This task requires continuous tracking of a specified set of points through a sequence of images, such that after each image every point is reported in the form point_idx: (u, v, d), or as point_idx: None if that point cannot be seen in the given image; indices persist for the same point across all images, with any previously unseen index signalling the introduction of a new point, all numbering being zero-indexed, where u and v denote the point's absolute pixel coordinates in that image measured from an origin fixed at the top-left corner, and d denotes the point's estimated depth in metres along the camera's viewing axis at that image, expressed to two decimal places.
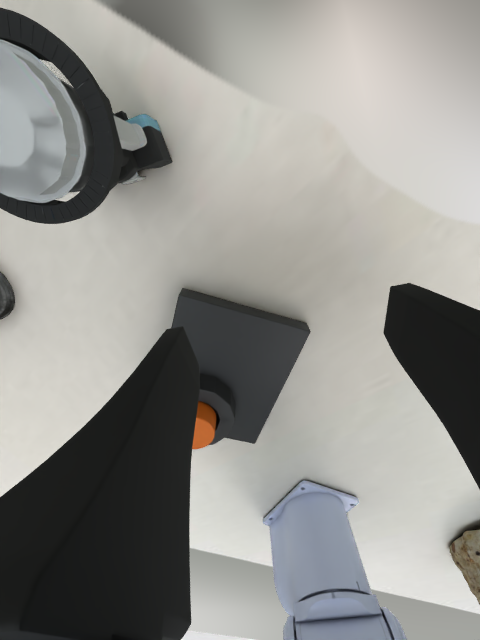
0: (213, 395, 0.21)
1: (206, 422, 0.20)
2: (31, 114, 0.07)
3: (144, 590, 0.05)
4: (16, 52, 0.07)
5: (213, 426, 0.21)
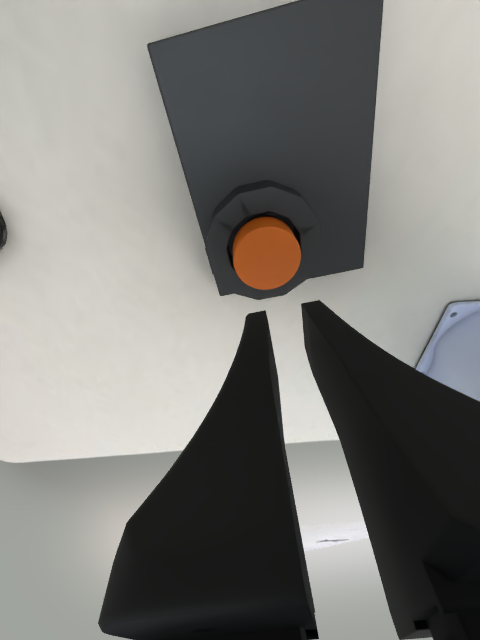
0: (272, 191, 0.14)
1: (279, 228, 0.13)
2: None
3: (306, 573, 0.05)
4: None
5: (292, 234, 0.14)
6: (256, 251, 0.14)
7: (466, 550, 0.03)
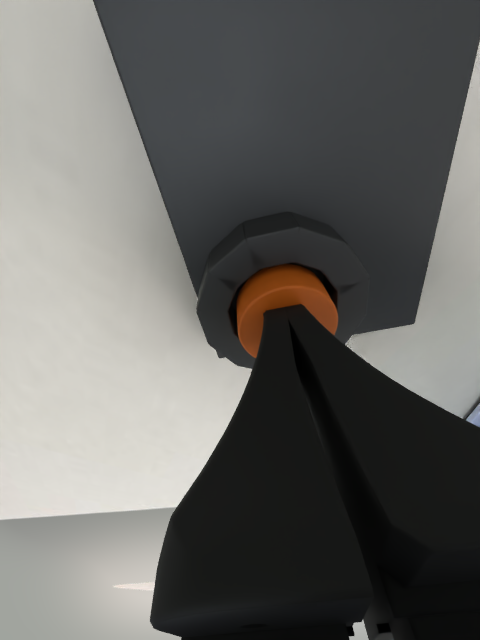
0: (300, 235, 0.09)
1: (308, 288, 0.09)
2: None
3: None
4: None
5: (327, 295, 0.09)
6: None
7: (408, 556, 0.03)
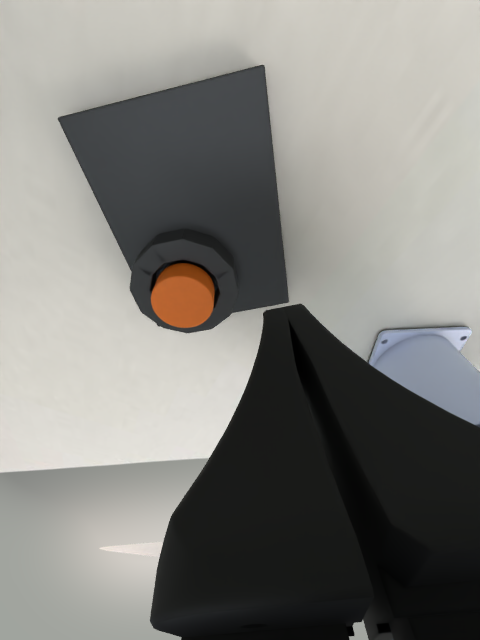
0: (183, 243, 0.15)
1: (188, 277, 0.15)
2: None
3: None
4: None
5: (202, 282, 0.15)
6: (170, 296, 0.15)
7: (407, 557, 0.03)
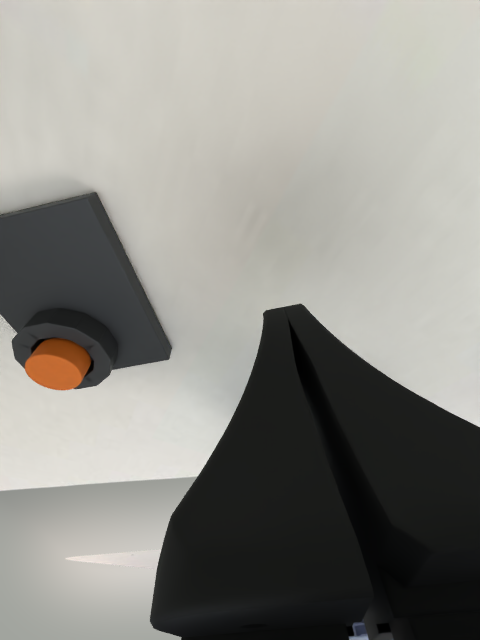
0: (48, 326, 0.18)
1: (50, 355, 0.18)
2: None
3: None
4: None
5: (66, 357, 0.18)
6: (41, 368, 0.18)
7: (408, 556, 0.03)
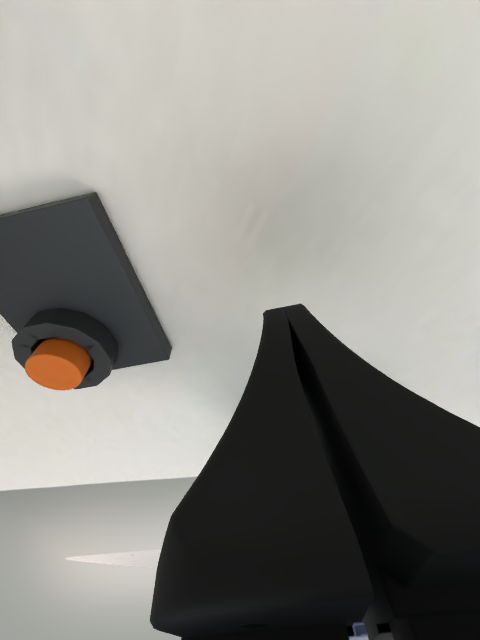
0: (48, 326, 0.18)
1: (50, 355, 0.18)
2: None
3: None
4: None
5: (66, 357, 0.18)
6: (41, 368, 0.18)
7: (408, 556, 0.03)
